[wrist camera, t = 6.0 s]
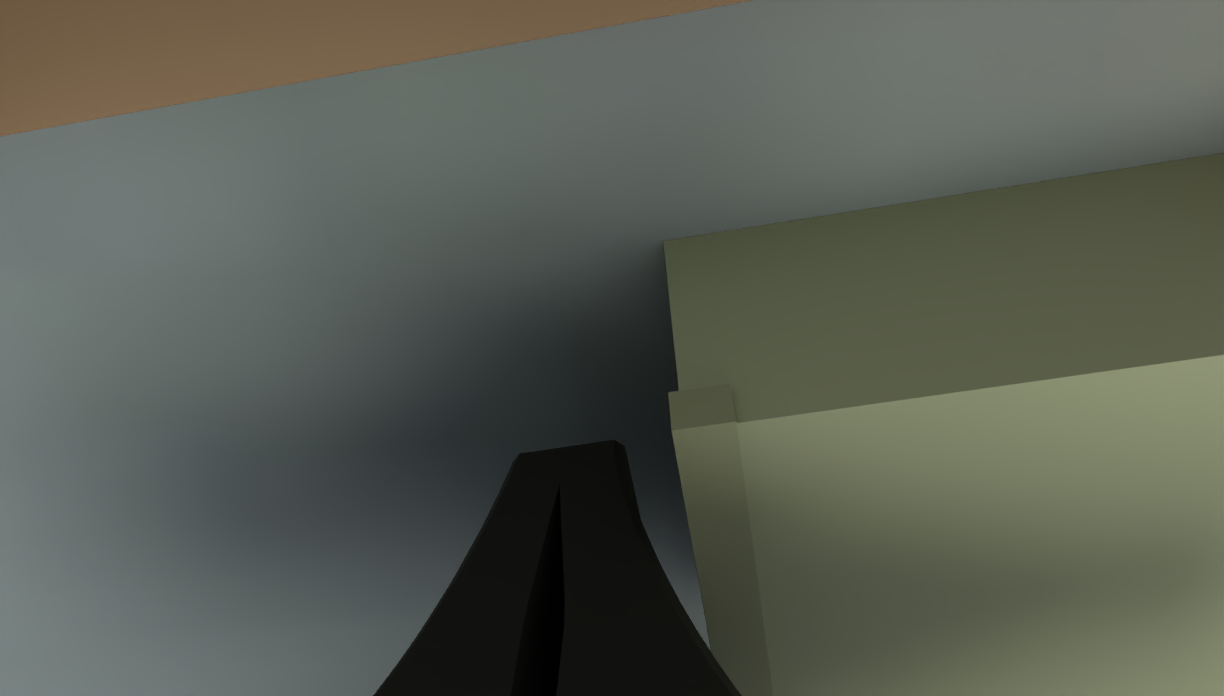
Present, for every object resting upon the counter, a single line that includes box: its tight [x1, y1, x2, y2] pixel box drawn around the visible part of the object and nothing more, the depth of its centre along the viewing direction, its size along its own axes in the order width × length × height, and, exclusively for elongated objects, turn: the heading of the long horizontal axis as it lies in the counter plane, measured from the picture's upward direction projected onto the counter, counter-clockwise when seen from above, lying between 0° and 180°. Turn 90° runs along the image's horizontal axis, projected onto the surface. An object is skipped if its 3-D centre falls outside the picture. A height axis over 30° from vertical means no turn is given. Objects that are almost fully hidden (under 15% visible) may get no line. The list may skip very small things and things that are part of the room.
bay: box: [0, 0, 751, 136], centre depth 13 cm, size 15×18×3 cm
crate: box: [663, 153, 1224, 696], centre depth 13 cm, size 6×7×4 cm
